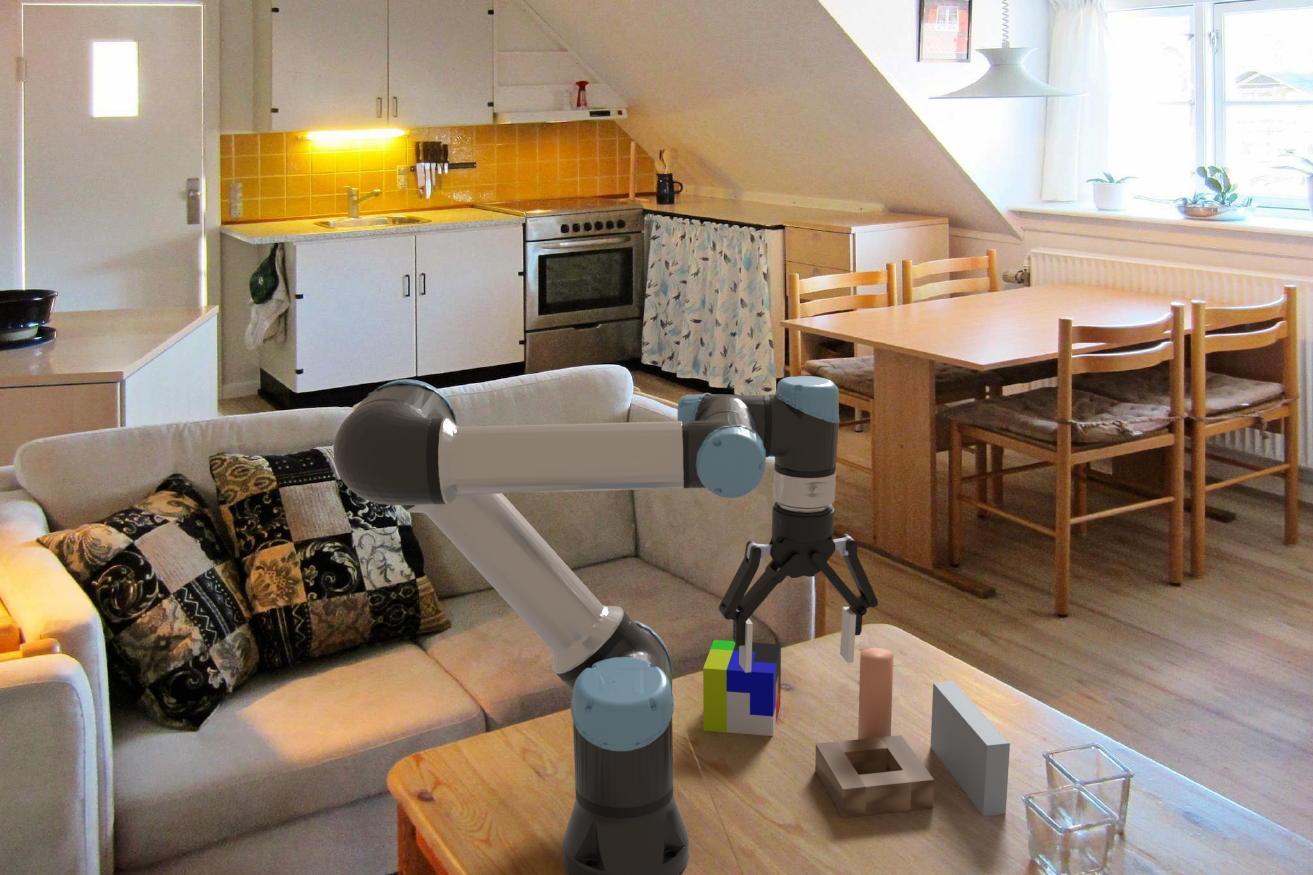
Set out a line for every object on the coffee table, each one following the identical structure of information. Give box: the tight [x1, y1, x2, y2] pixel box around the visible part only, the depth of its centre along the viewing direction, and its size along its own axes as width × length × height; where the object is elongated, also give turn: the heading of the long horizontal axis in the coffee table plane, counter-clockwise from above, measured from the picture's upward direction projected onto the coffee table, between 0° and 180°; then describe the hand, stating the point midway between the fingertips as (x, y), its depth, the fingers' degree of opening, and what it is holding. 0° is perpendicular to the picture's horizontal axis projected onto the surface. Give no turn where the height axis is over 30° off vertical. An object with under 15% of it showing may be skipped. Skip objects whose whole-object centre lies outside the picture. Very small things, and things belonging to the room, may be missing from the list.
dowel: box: [857, 647, 894, 739], centre depth 178 cm, size 4×4×14 cm
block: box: [814, 734, 935, 819], centre depth 168 cm, size 12×12×4 cm
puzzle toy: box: [702, 639, 782, 737], centre depth 188 cm, size 10×10×10 cm
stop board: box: [929, 680, 1011, 817], centre depth 170 cm, size 3×18×10 cm, turn 9°
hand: (796, 663), depth 163 cm, fingers open, 13 cm apart
